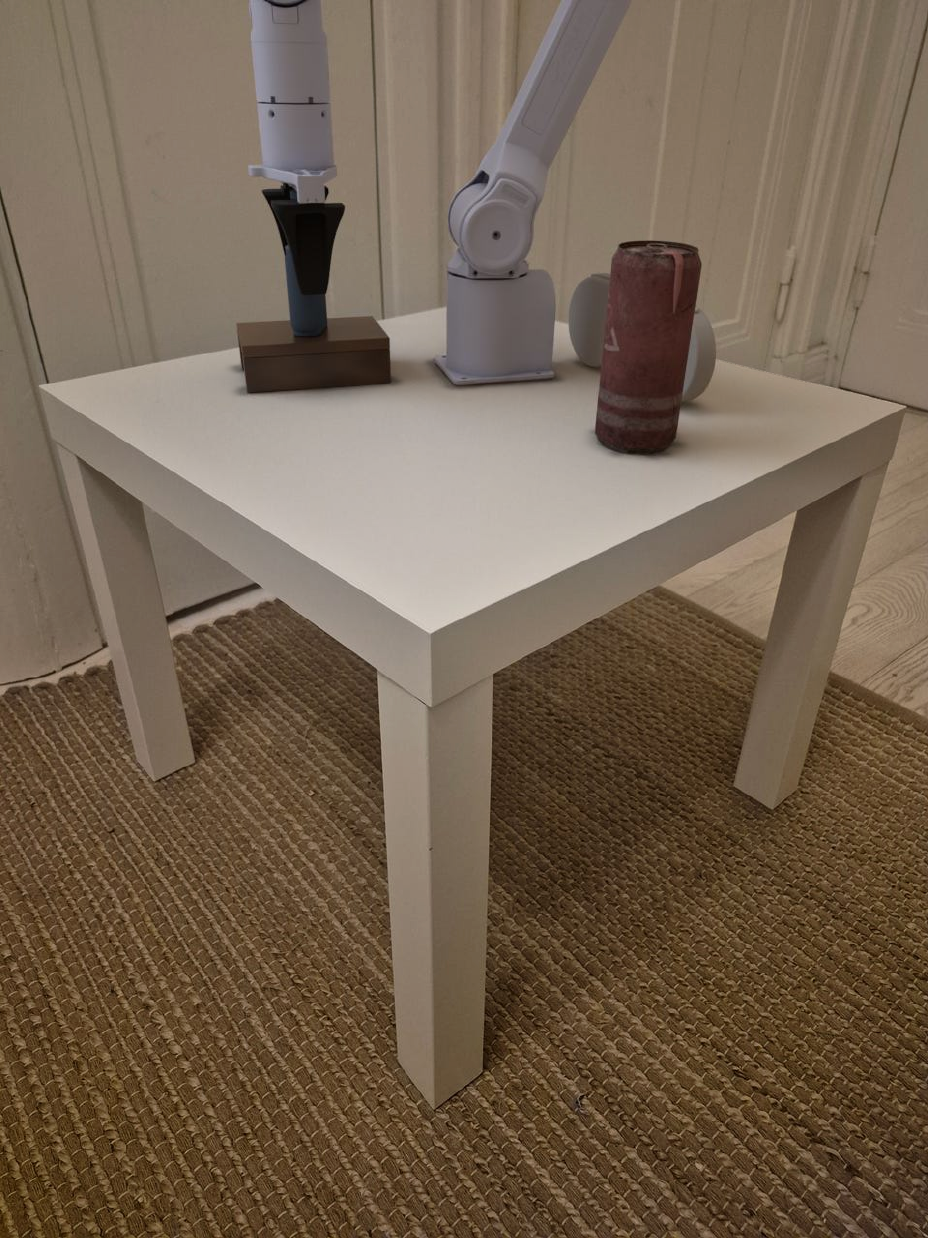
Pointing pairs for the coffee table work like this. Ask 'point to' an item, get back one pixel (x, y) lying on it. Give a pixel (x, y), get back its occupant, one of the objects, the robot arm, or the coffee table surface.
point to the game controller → (590, 330)
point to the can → (646, 344)
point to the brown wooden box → (314, 355)
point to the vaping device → (303, 302)
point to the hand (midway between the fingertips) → (307, 284)
